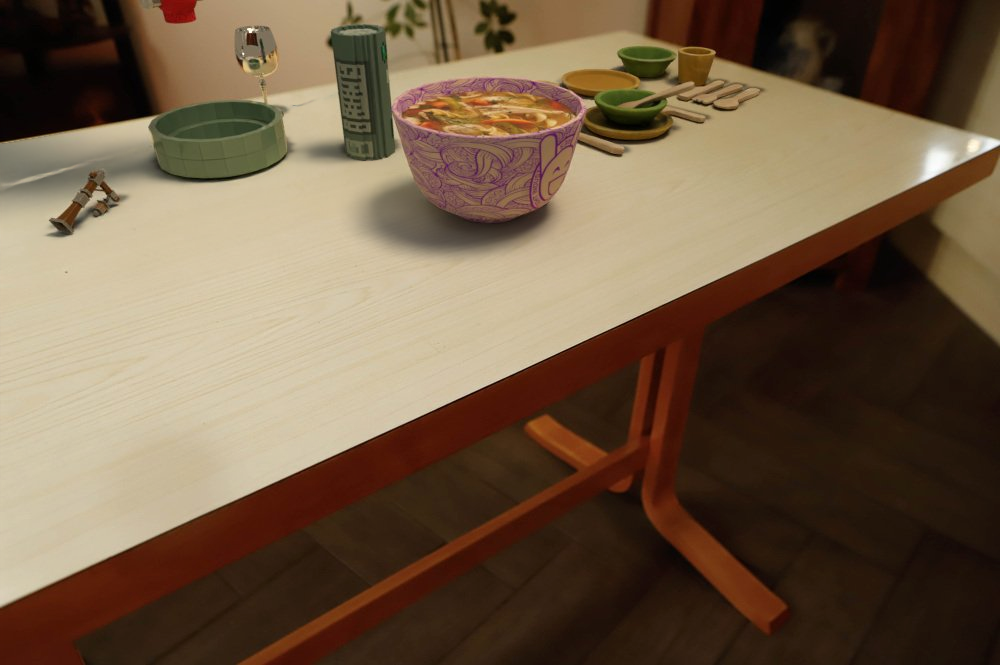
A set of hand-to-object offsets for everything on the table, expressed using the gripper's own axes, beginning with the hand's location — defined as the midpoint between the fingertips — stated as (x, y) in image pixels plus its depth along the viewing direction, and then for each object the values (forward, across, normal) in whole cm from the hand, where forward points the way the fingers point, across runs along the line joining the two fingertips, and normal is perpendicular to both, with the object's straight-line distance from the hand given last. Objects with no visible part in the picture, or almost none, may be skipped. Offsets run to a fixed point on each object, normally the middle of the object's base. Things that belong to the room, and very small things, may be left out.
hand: (176, 3), depth 78 cm
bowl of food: (+19, -15, +32) cm, 40 cm away
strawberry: (+2, 0, 0) cm, 2 cm away
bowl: (+19, -3, -3) cm, 20 cm away
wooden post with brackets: (+19, +16, +2) cm, 25 cm away
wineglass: (+19, -16, -13) cm, 29 cm away
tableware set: (+19, -57, +21) cm, 64 cm away
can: (+19, -17, +9) cm, 27 cm away
